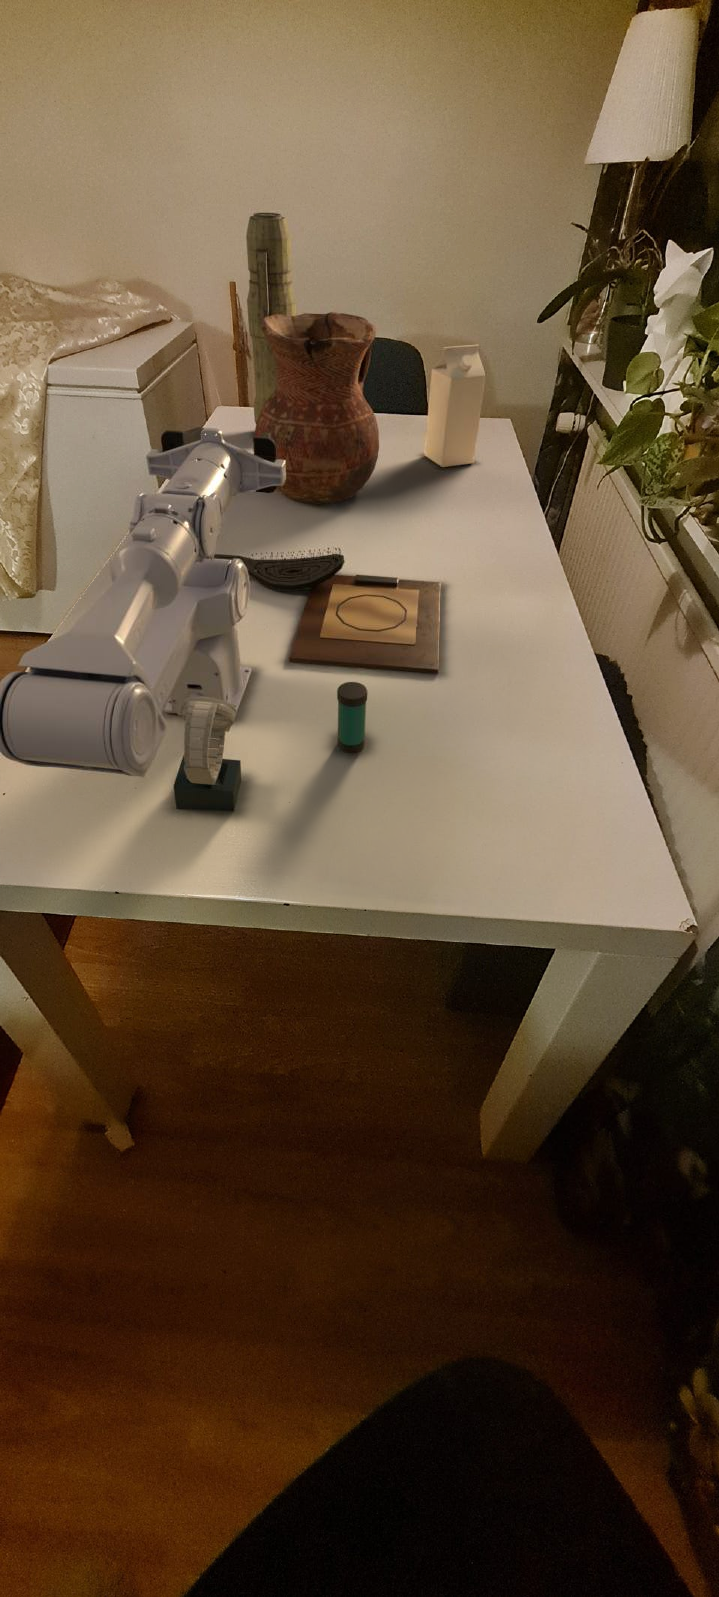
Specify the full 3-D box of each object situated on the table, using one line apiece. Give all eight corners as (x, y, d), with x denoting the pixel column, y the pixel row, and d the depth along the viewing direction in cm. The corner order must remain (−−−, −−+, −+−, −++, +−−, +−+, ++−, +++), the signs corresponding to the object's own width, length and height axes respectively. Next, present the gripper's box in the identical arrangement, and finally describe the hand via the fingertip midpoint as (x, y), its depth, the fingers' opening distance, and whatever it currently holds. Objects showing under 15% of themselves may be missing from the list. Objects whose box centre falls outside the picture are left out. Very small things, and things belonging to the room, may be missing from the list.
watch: (244, 770, 72) (241, 681, 64) (231, 828, 66) (226, 738, 59) (189, 765, 72) (179, 675, 64) (171, 822, 66) (158, 732, 58)
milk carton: (423, 455, 138) (433, 342, 125) (455, 451, 141) (468, 339, 127) (441, 468, 134) (454, 352, 121) (473, 463, 136) (489, 349, 123)
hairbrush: (177, 538, 103) (347, 539, 99) (183, 562, 105) (349, 564, 102) (158, 564, 97) (338, 566, 93) (165, 589, 99) (340, 592, 96)
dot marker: (363, 754, 74) (366, 700, 69) (335, 752, 74) (335, 697, 69) (366, 736, 76) (368, 682, 71) (338, 734, 76) (339, 680, 71)
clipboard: (437, 673, 85) (438, 665, 84) (289, 661, 86) (289, 653, 85) (440, 585, 100) (441, 578, 100) (314, 576, 101) (314, 568, 100)
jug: (367, 519, 116) (374, 342, 98) (243, 507, 118) (228, 331, 100) (384, 471, 132) (393, 311, 114) (275, 461, 134) (267, 302, 116)
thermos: (302, 426, 149) (297, 211, 124) (296, 445, 140) (289, 218, 116) (260, 424, 149) (247, 209, 124) (251, 443, 140) (235, 216, 116)
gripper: (271, 452, 68) (296, 405, 77) (125, 439, 69) (167, 395, 78) (275, 523, 73) (298, 471, 83) (139, 511, 74) (177, 461, 83)
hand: (235, 439), depth 81 cm, fingers open, 7 cm apart
